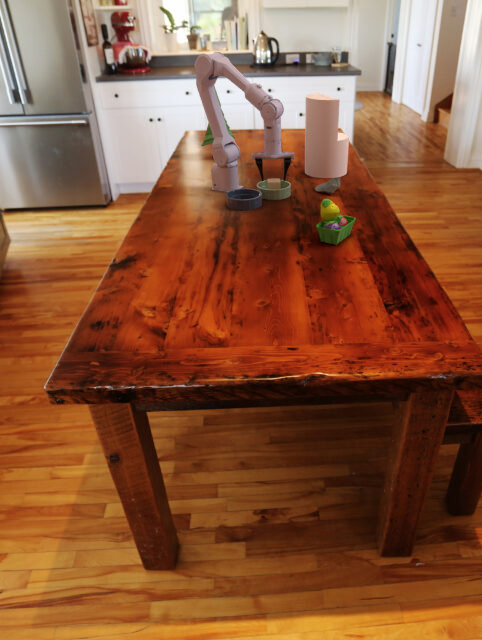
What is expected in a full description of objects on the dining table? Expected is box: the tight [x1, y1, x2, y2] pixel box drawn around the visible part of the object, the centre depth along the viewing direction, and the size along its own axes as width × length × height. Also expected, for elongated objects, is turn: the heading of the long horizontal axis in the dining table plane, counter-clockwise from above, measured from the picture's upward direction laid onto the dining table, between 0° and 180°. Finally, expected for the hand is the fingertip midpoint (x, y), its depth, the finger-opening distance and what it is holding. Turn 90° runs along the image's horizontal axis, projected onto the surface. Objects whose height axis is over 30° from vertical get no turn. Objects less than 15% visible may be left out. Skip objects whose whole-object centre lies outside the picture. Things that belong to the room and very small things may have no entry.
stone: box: [314, 177, 341, 195], centre depth 177 cm, size 11×4×10 cm
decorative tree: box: [201, 85, 236, 147], centre depth 210 cm, size 14×16×30 cm
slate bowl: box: [225, 187, 263, 211], centre depth 166 cm, size 12×12×4 cm
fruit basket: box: [316, 198, 356, 246], centre depth 140 cm, size 11×9×11 cm
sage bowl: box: [256, 179, 292, 201], centre depth 174 cm, size 12×12×4 cm
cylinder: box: [304, 92, 350, 179], centre depth 191 cm, size 17×17×28 cm
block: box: [266, 178, 281, 190], centre depth 173 cm, size 4×4×5 cm
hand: (273, 180), depth 172 cm, fingers open, 7 cm apart
